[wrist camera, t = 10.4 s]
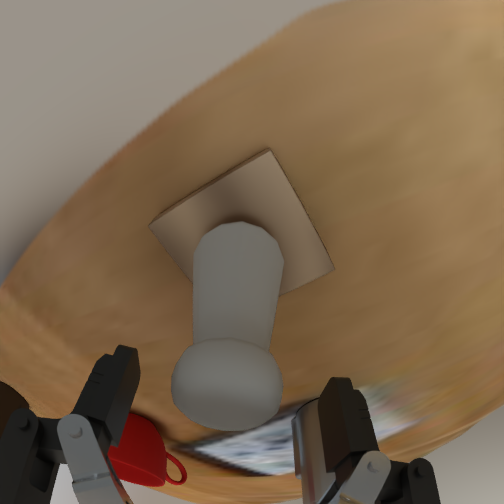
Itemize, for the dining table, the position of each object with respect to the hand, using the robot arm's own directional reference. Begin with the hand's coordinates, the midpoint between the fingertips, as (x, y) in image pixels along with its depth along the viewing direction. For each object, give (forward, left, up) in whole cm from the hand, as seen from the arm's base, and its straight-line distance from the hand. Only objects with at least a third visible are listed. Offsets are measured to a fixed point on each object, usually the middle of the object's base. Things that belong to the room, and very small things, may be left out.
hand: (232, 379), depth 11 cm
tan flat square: (0, 0, -14) cm, 14 cm away
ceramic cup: (-38, -7, -14) cm, 41 cm away
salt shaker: (0, 0, -11) cm, 11 cm away
